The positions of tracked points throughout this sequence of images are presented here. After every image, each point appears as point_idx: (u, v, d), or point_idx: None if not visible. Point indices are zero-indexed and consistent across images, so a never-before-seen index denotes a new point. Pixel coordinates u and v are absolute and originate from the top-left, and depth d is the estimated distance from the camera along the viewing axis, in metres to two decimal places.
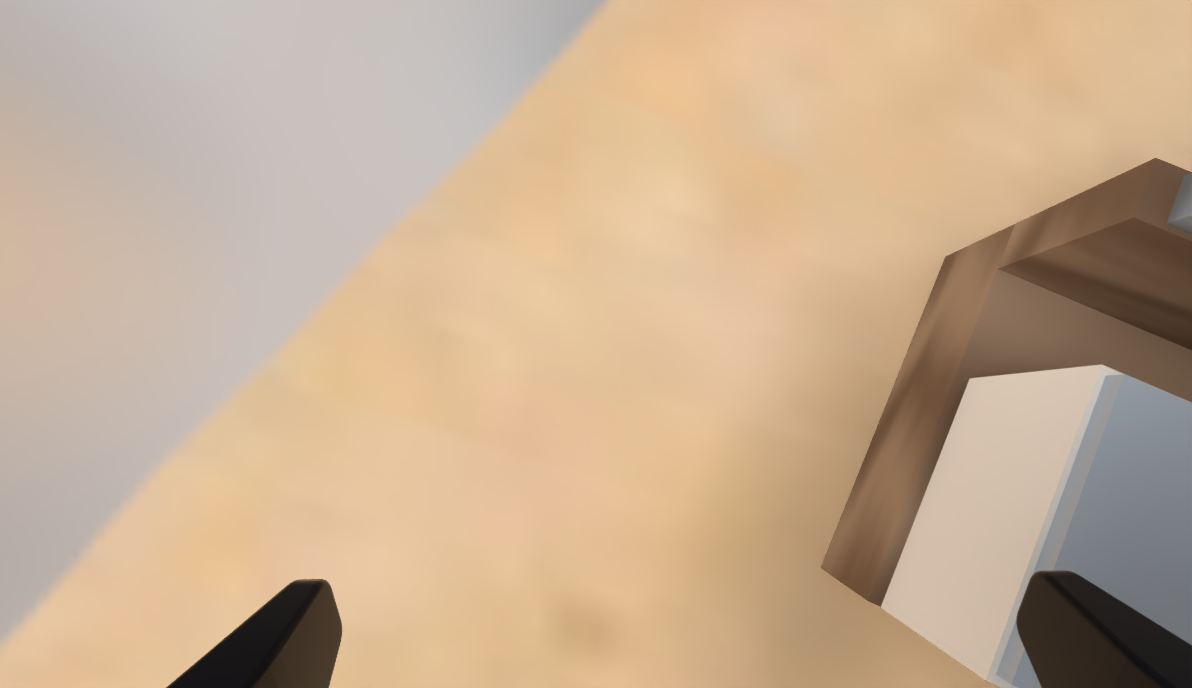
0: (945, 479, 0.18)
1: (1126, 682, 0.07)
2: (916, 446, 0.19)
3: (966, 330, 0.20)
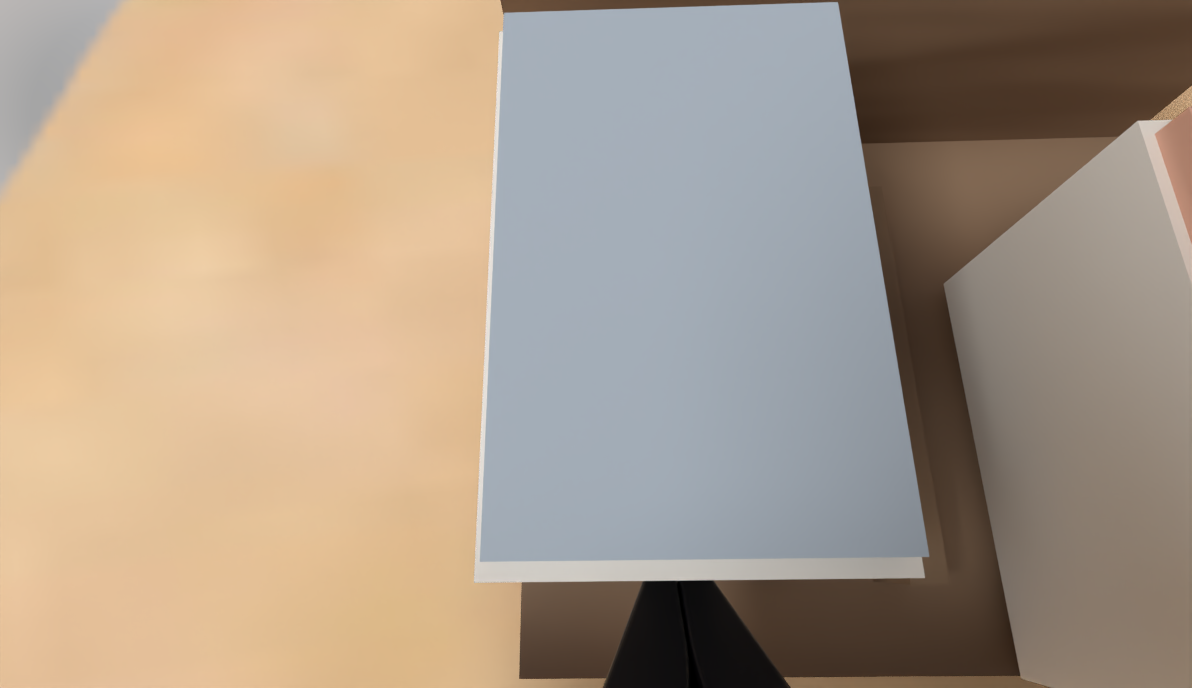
0: None
1: (695, 685, 0.07)
2: None
3: None
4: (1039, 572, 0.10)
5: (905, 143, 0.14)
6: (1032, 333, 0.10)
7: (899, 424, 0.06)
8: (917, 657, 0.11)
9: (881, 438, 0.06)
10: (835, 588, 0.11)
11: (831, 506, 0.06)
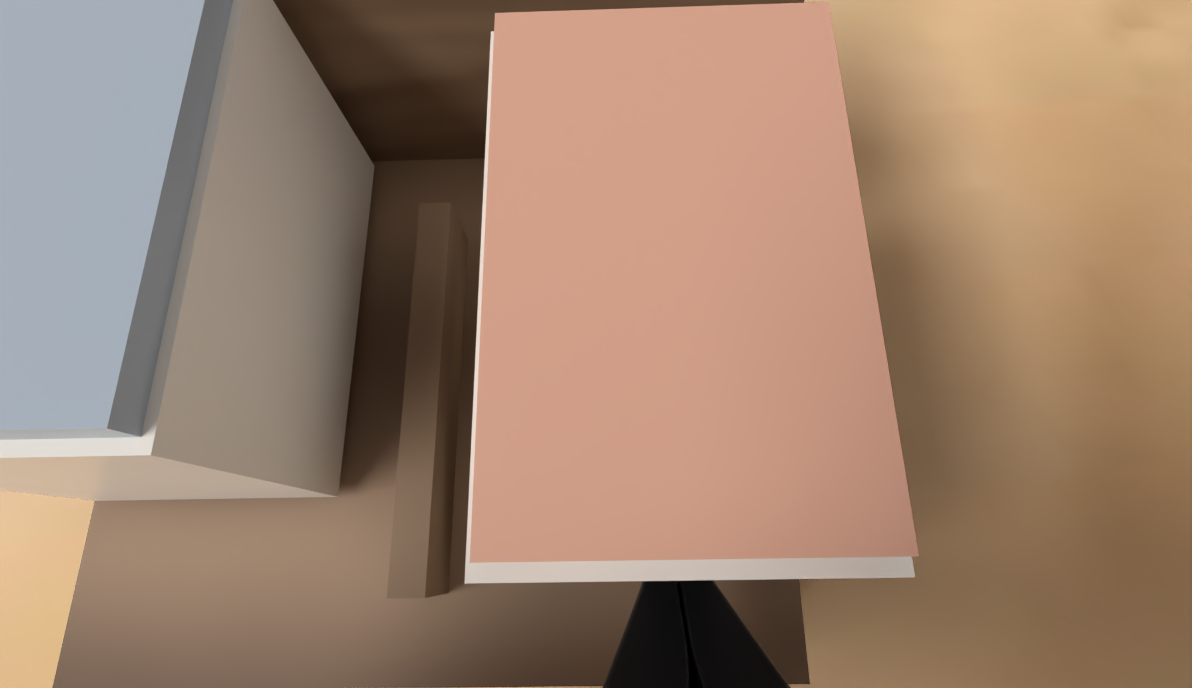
0: None
1: (695, 685, 0.07)
2: None
3: None
4: None
5: None
6: None
7: (126, 314, 0.07)
8: (442, 668, 0.11)
9: (104, 327, 0.07)
10: (376, 600, 0.11)
11: (37, 385, 0.07)
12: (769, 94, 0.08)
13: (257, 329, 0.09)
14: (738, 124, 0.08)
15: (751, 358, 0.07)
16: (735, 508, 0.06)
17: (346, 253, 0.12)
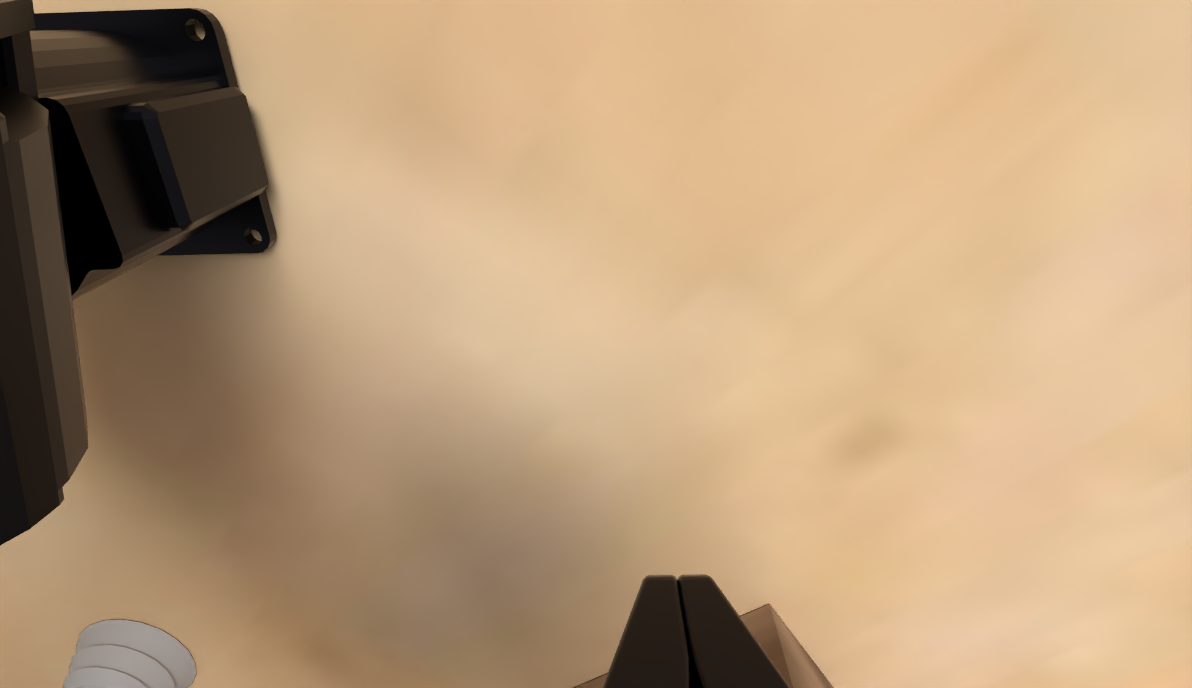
0: None
1: (695, 685, 0.07)
2: None
3: None
4: None
5: None
6: None
7: None
8: None
9: None
10: None
11: None
12: None
13: None
14: None
15: None
16: None
17: None
